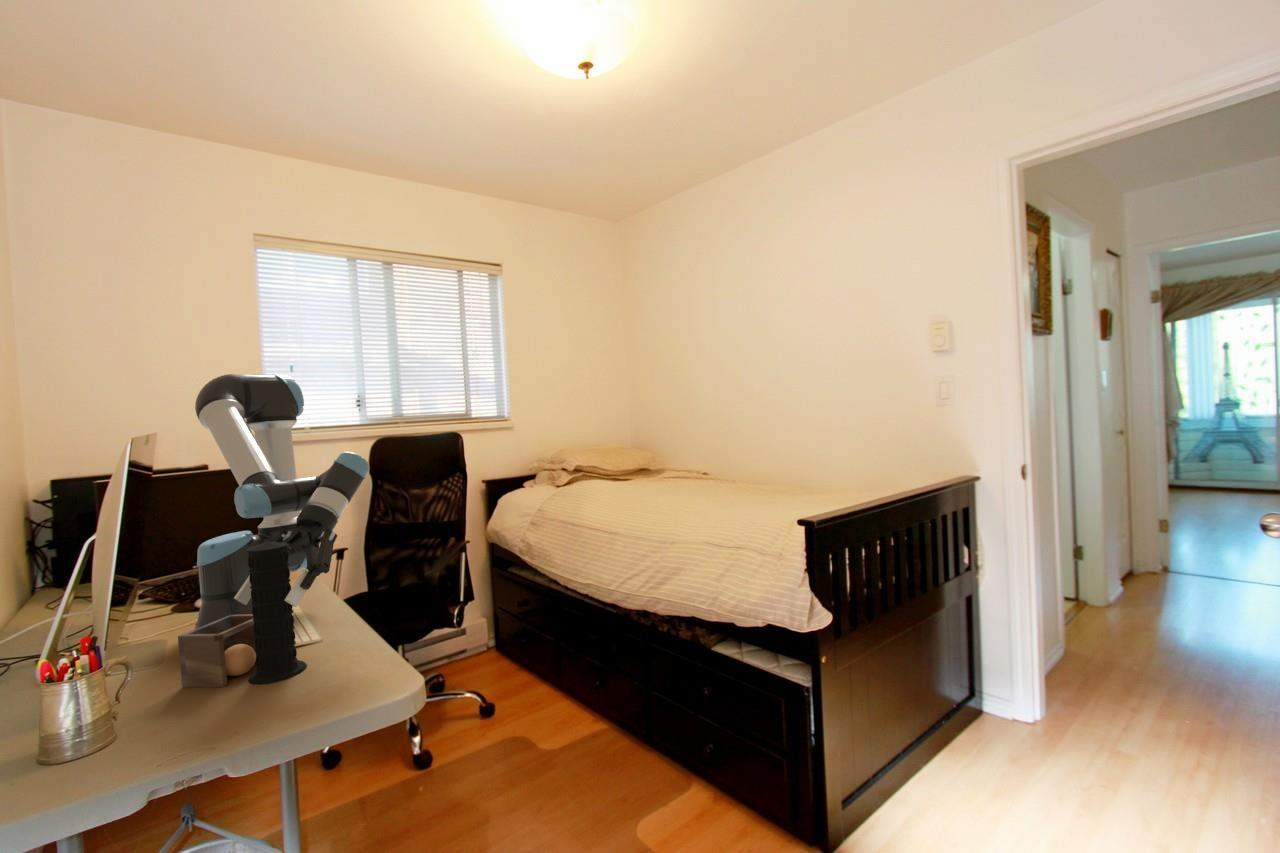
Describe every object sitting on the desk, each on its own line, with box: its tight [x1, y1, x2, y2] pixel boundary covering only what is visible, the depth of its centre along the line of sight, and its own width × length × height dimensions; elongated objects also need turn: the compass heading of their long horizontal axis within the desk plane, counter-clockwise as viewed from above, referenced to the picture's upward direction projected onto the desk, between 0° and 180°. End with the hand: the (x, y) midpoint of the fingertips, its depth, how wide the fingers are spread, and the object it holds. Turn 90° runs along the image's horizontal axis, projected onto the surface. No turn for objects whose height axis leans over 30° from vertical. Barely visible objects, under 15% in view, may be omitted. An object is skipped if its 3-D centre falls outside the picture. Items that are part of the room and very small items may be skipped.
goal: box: [177, 614, 258, 688], centre depth 118 cm, size 12×9×10 cm
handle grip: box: [247, 542, 308, 686], centre depth 116 cm, size 10×26×10 cm
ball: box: [225, 644, 256, 677], centre depth 117 cm, size 6×6×6 cm
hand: (264, 602), depth 115 cm, fingers open, 13 cm apart
